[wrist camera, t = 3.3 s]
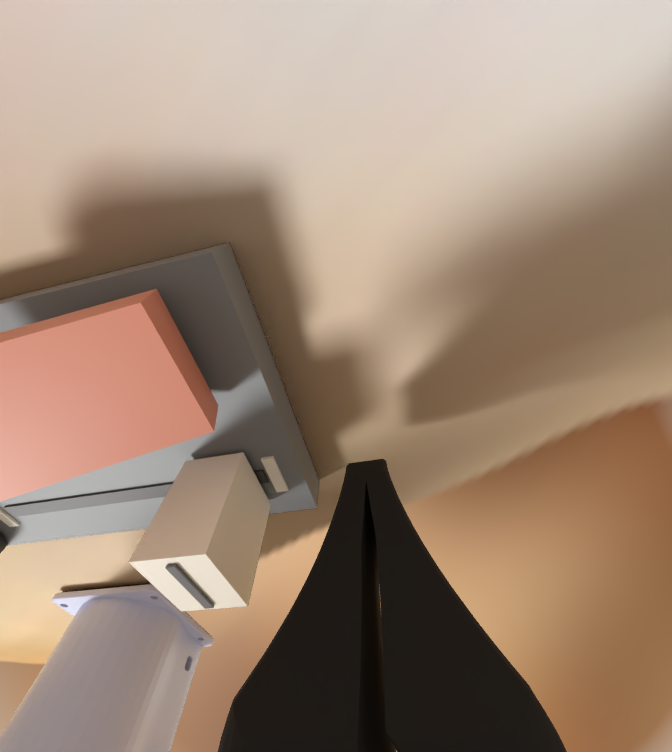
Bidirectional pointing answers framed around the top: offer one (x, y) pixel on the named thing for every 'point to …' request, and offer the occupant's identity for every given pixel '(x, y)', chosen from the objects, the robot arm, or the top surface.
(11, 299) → the console
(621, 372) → the top surface
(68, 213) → the top surface
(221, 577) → the slotted cream block
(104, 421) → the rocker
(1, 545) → the button
